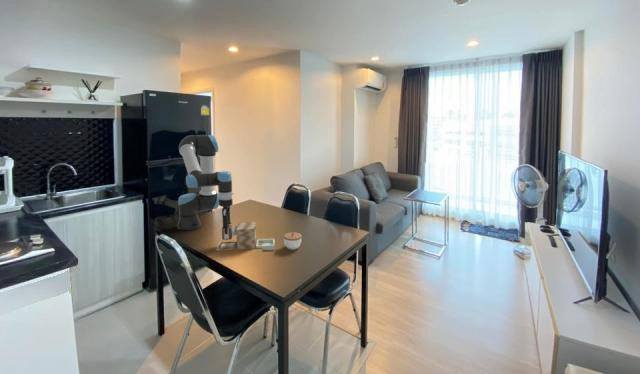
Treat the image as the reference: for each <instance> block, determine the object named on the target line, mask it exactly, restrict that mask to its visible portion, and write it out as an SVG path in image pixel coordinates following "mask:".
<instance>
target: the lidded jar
mask: <svg viewBox="0 0 640 374" xmlns="http://www.w3.org/2000/svg"><path fill="white" fill-rule="evenodd" d="M283 243H284V246H285V248H287V249H288V250H290V251H291V250H292V251H293V250H294V251H295V250H297V249H298V248H299V247H300V245H301V243H302V234H301V233H299V232H287V233H285V234H284V235H283Z"/></svg>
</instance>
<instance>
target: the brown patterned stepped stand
mask: <svg viewBox="0 0 640 374" xmlns="http://www.w3.org/2000/svg"><path fill="white" fill-rule="evenodd" d="M256 223H257V222H256V221H252V222H251V221H250V222H238V223H237V225H236V226H237V229H236V231H237V235H236V241H235V240H234V241H233V240H232V241H231V240H230V241H219V242H218V244H217V246H216V249H215V251H230V250H231V251H232V250H250V249H252V250H253V249H254V250H255V249H256V244H257V233H256V232H257V230H256V229H257V228H256V227H257V226H256Z"/></svg>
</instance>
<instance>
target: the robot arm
mask: <svg viewBox="0 0 640 374" xmlns="http://www.w3.org/2000/svg"><path fill="white" fill-rule="evenodd" d="M178 152H179V154H180V156H182V159H183V162H184V165H185V168H186V171H187V175H186V177H185V182H186V187H187V188H189V189H197V188H200V189H201V190H200V191H199V192H198V194H197V193H194V192H192V193H189V192H188V193H185V194H182V195H180V196H179V197H178V200H177V201H178V203H177V204H178V215H179V217H178V222H177V230H180V231H193V230H196V229H199V228H200V227H201V226H202V223H201V220H200V218H199V215H198V212H205V211H212V210H217V209H218V208H219V207H222V208H221V215H222V227H223V228H222V227H221V230H222V229H224V239H228V240H230V239H229V228H228V225H232V222H231V206H233V204H234V203H233V202H234V201H233V195H234V193H233V186H232V185H233V182H232V181H233V180H232V179H233V178H232V173H231V171H229V170H228V171H225V170H224V171H214V169H215V168H214V161H215V160H214V157H216V156H217V155H216V154H217V153H218V152H219V143H218V140H217V138H216V136H215V135H210V134H196V135H195V134H191V135H186V136H185V137H184V138H182V140H181V141H180V143H179V145H178ZM197 156H198V157H199V160H198V158H197ZM199 161H200V162H199ZM215 186H217V190H216V189H215ZM217 191H218V192H217Z"/></svg>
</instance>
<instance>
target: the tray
mask: <svg viewBox="0 0 640 374" xmlns="http://www.w3.org/2000/svg"><path fill="white" fill-rule="evenodd" d="M275 242H276V241H275V238H258V239H257V238H256V245H255V249H261V251H275V246H276V245H275ZM259 243H262V245H259Z"/></svg>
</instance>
